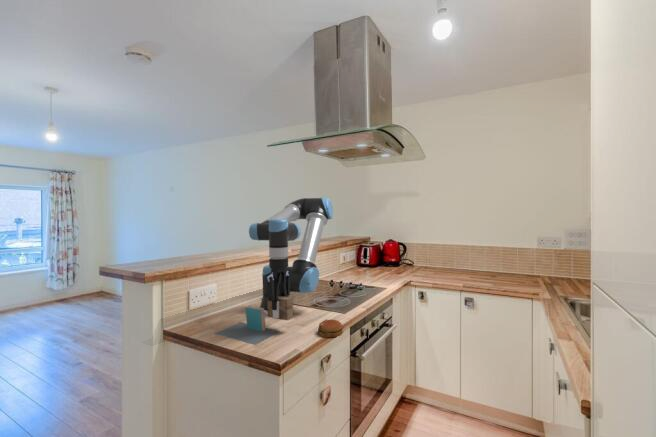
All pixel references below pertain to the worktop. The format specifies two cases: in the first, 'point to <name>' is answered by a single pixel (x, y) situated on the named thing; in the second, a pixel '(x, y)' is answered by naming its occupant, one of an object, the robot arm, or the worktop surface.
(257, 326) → the teal and beige block
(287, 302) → the brown wooden block
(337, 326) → the burger
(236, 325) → the mat
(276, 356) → the worktop surface
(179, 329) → the worktop surface
